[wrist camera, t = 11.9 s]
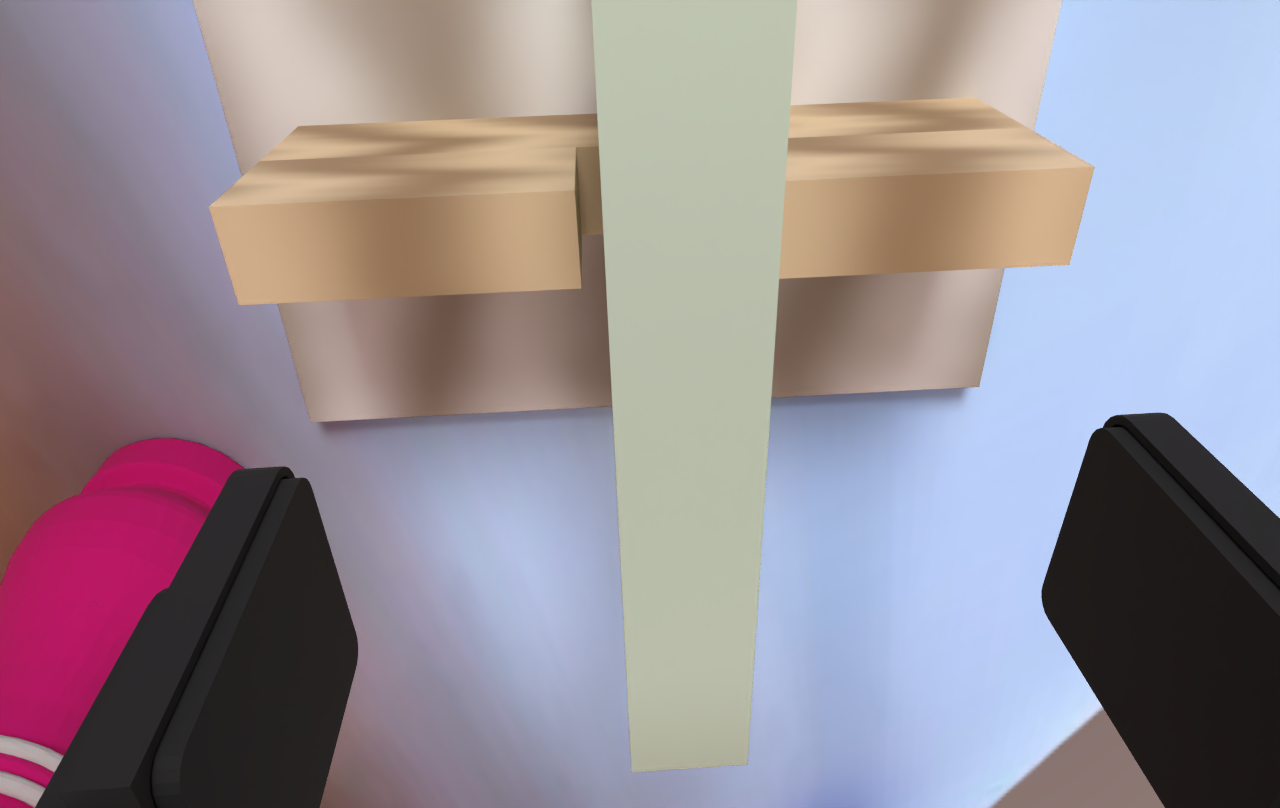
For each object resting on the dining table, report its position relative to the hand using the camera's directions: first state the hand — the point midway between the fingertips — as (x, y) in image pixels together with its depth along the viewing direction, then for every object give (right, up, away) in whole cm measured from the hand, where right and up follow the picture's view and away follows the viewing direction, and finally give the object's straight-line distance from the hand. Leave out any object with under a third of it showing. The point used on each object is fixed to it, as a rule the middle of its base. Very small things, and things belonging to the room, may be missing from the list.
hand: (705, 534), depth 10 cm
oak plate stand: (-1, +10, +16) cm, 19 cm away
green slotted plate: (-1, +9, +15) cm, 18 cm away
